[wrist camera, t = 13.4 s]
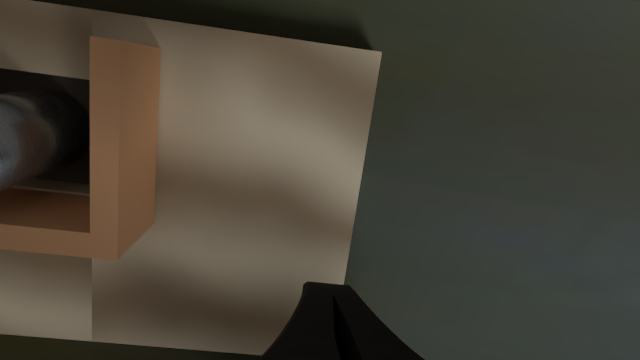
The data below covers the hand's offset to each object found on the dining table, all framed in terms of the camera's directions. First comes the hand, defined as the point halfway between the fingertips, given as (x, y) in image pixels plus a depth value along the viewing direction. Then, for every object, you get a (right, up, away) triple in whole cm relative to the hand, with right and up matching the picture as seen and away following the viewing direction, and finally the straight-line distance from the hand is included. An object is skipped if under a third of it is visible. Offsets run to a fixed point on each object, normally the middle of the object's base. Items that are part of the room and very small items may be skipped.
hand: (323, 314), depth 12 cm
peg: (-13, +6, +8) cm, 16 cm away
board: (-9, +4, +9) cm, 13 cm away
